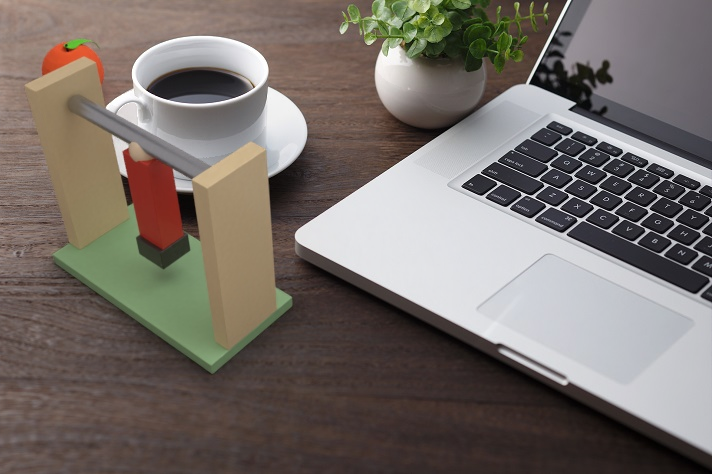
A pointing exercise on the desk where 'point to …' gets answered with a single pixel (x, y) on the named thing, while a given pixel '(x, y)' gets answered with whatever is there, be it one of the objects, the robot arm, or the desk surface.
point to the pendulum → (148, 181)
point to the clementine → (70, 56)
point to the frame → (119, 231)
